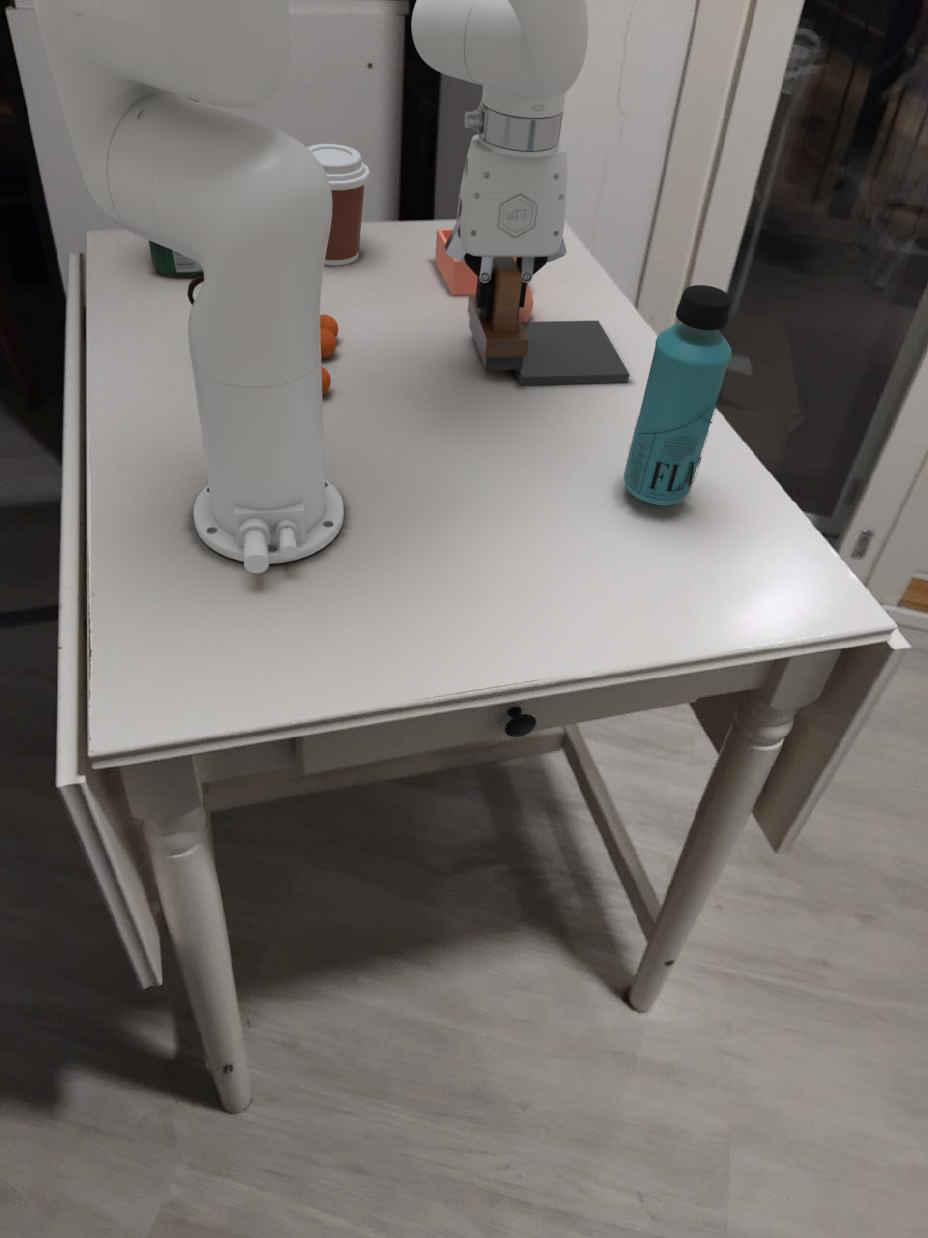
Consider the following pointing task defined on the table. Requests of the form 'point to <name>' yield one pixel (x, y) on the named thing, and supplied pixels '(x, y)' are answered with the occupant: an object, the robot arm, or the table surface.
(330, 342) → the felt ball
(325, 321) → the felt ball
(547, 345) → the slate tile
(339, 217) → the coffee cup
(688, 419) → the beverage bottle
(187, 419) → the table surface
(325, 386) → the felt ball
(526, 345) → the brush
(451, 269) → the pottery
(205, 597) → the table surface
